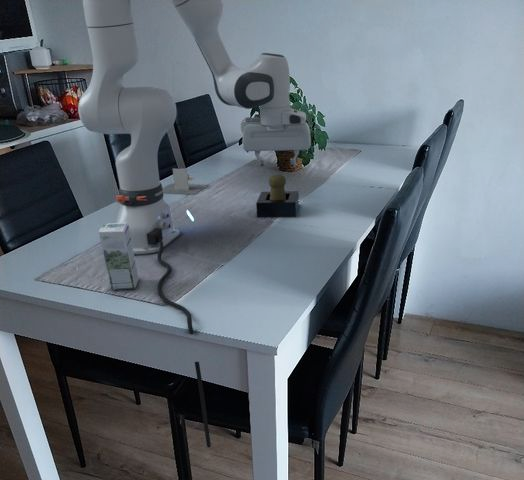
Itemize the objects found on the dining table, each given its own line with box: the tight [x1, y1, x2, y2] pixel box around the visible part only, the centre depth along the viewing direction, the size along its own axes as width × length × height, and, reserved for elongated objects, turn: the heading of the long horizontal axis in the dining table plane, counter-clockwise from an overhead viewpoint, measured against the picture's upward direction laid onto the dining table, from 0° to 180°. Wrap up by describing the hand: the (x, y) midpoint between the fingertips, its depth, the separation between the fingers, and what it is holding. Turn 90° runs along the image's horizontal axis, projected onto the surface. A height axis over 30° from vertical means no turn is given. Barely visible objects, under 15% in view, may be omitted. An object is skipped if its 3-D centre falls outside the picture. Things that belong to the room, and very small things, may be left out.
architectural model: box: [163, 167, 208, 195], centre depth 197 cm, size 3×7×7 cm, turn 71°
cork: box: [268, 174, 287, 200], centre depth 168 cm, size 6×6×11 cm
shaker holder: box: [255, 190, 300, 218], centre depth 170 cm, size 12×12×4 cm
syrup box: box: [98, 222, 139, 291], centre depth 125 cm, size 6×6×14 cm
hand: (277, 165), depth 164 cm, fingers open, 8 cm apart
